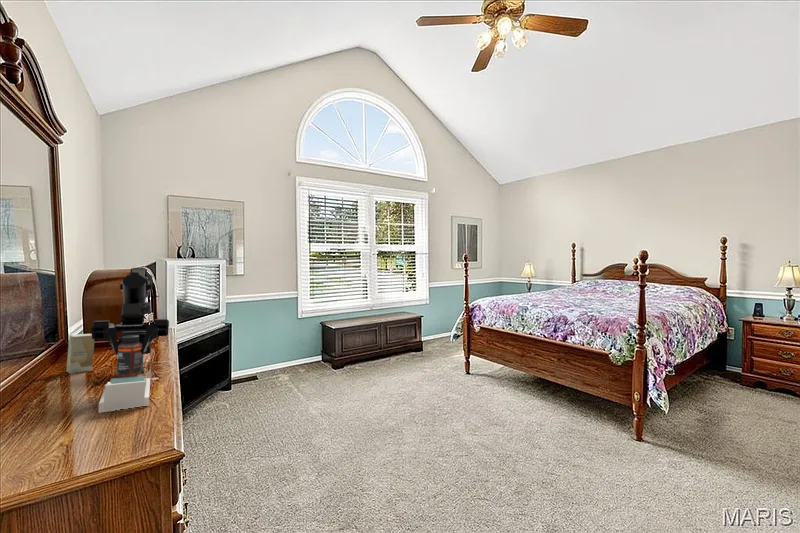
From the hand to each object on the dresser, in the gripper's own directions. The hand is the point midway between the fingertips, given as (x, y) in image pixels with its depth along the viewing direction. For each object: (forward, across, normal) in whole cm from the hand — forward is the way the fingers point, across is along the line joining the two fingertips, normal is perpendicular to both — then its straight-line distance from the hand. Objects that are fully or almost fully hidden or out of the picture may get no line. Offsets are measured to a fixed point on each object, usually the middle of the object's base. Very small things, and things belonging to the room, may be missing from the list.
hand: (129, 353), depth 109 cm
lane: (+11, 0, +6) cm, 12 cm away
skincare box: (-15, -15, +32) cm, 39 cm away
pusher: (+11, 0, +6) cm, 12 cm away
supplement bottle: (+4, 0, +6) cm, 7 cm away
